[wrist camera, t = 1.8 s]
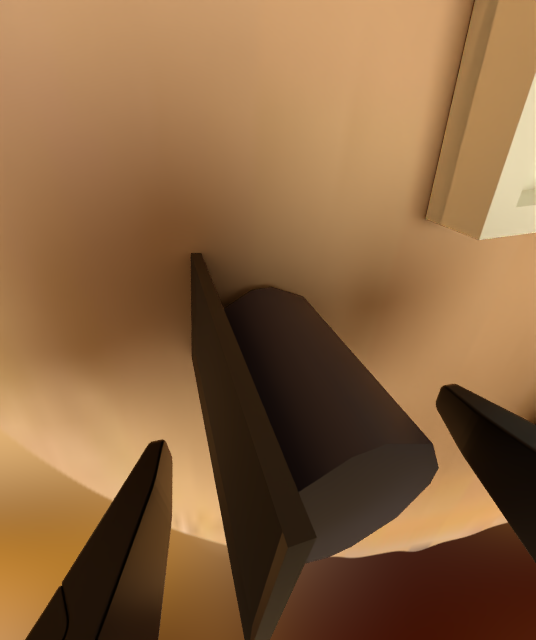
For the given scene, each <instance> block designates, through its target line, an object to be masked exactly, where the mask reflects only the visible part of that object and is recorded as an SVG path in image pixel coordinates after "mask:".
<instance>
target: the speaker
mask: <svg viewBox="0 0 536 640" xmlns="http://www.w3.org/2000/svg"><path fill="white" fill-rule="evenodd" d="M191 321H192V361H193V366H194V371H195V377H196V382H197V387H198V393H199V398H200V403H201V409H202V414H203V419H204V425H205V430H206V435H207V441H208V446H209V451H210V457H211V462H212V468H213V473H214V478H215V484H216V489H217V494H218V500H219V505H220V510H221V516H222V521H223V526H224V532H225V537H226V542H227V548H228V553H229V558H230V563H231V569H232V575H233V579H234V585H235V591H236V596H237V601H238V606H239V611H240V617H241V623H242V628H243V633H244V639H245V640H270V638H271V636H272V634H273V632H274V630H275V627H276V625H277V623H278V621H279V619H280V617H281V614H282V612H283V610H284V608H285V606H286V604H287V601H288V599H289V597H290V595H291V593H292V591H293V588H294V586H295V584H296V582H297V580H298V578H299V575H300V573H301V571H302V569H303V567H304V564H305V563H309V562H313V561H317V560H321V559H325V558H328V557H330V556H332V555H335V554H337V553H339V552H341V551H343V550H345V549H347V548H350V547H352V546H353V545H355V544H356V543H358V542H359V541H361V540H362V539H364V538H366V537H367V536H369V535H370V534H372V533H373V532H375V531H376V530H378V529H379V528H381V527H383V526H384V525H386V524H387V523H389V522H390V521H392V520H393V519H395V518H396V517H397V516H398V515H399V514H400V513H401V512H402V511H403V510H404V509H405V508H406V507H407V506H408V505H409V504H410V503H411V502H412V501H413V500H414V499H415V498H416V497H417V496H418V495H419V494H420V493H421V492H422V491H423V490H424V489H425V488H426V487H427V486H428V485H429V484H430V483H431V481H432V479H433V477H434V475H435V473H436V472H437V470H438V468H439V467H438V463H437V459H436V455H435V451H434V447H433V444H432V442H431V441H430V440H429V439H428V438H427V437H426V436H425V434H424V433H423V432H422V431H421V430H420V429H419V428H418V427H417V425H416V424H415V423H414V422H413V421H412V420H411V419H410V417H409V416H408V415H407V414H406V413H405V412H404V411H403V409H402V408H401V407H400V406H399V405H398V404H397V403H396V402H395V400H394V399H393V398H392V397H391V396H390V395H389V394H388V392H387V391H386V390H385V389H384V388H383V387H382V386H381V385H380V383H379V382H378V381H377V380H376V379H375V378H374V377H373V375H372V374H371V373H370V372H369V371H368V370H367V369H366V367H365V366H364V365H363V364H362V363H361V362H360V361H359V360H358V358H357V357H356V356H355V355H354V354H353V353H352V352H351V350H350V349H349V348H348V347H347V346H346V345H345V344H344V342H343V341H342V340H341V339H340V338H339V337H338V336H337V335H336V333H335V332H334V331H333V330H332V329H331V328H330V327H329V325H328V324H327V323H326V322H325V321H324V320H323V319H322V318H321V316H320V315H319V314H318V313H317V312H316V311H315V310H314V308H313V307H312V306H311V305H310V304H309V303H308V302H307V300H306V299H305V298H304V297H302V296H299V295H296V294H293V293H289V292H286V291H283V290H279V289H276V288H273V287H268V288H263V289H257V290H251V291H250V292H248V293H247V294H245V295H244V296H242V297H241V298H239V299H238V300H236V301H235V302H233V303H232V304H230V305H229V306H227V307H226V308H223V306H222V303H221V301H220V299H219V296H218V294H217V291H216V289H215V286H214V284H213V281H212V279H211V277H210V274H209V272H208V269H207V267H206V264H205V262H204V259H203V257H202V254H199V253H191Z"/></svg>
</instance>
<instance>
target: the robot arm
mask: <svg viewBox="0 0 536 640" xmlns="http://www.w3.org/2000/svg"><path fill="white" fill-rule="evenodd" d="M436 407H437V410H438V412H439V414H440V415H441V417H442V419H443V421H444V423H445V425H446V426H447V428H448V430H449V432H450V434H451V435H452V437H453V439H454V441H455V443H456V445H457V446H458V448H459V450H460V451H461V453H462V455H463V456H464V458H465V459H466V461H467V462H468V464H469V465H470V467H471V468H472V470H473V471H474V473H475V474H476V475H477V477H478V478H479V480H480V481H481V483H482V484H483V486H484V487H485V489H486V490H487V492H488V493H489V495H490V496H491V498H492V499H493V501H494V502H495V504H496V505H497V506H498V508H499V509H500V511H501V512H502V514H503V515H504V517H505V518H506V520H507V521H508V523H509V524H510V526H511V527H512V528H513V530H514V532H515V533H516V535H517V536H518V537H519V539H520V540H521V542H522V543H523V545H524V546H525V547H526V549H527V551H528V552H529V554H530V555H531V556H532V558H533V560H534V561H535V563H536V425H535V424H533V423H531V422H529V421H527V420H526V419H524V418H522V417H520V416H518V415H516V414H514V413H512V412H510V411H508V410H506V409H504V408H502V407H500V406H498V405H496V404H494V403H492V402H490V401H488V400H486V399H484V398H483V397H481V396H479V395H477V394H475V393H473V392H471V391H469V390H467V389H465V388H463V387H461V386H459V385H457V384H449V385H444V386H442V387H441V389H440V392H439V395H438V397H437V400H436ZM171 521H172V456H171V453H170V451H169V448H168V446H167V443H166V441H165V440H157V441H152V442H150V443H149V444H148V446H147V447H146V449H145V451H144V452H143V454H142V455H141V457H140V459H139V460H138V462H137V463H136V465H135V467H134V468H133V470H132V471H131V473H130V475H129V476H128V478H127V479H126V481H125V482H124V484H123V486H122V487H121V489H120V490H119V492H118V494H117V495H116V497H115V498H114V500H113V502H112V503H111V505H110V507H109V508H108V510H107V511H106V513H105V514H104V516H103V518H102V519H101V521H100V522H99V524H98V526H97V527H96V529H95V530H94V532H93V534H92V535H91V537H90V538H89V540H88V542H87V543H86V545H85V546H84V548H83V550H82V551H81V553H80V554H79V556H78V557H77V559H76V561H75V562H74V564H73V565H72V567H71V569H70V570H69V572H68V574H67V575H66V577H65V578H64V580H63V581H62V586H59V588H58V589H57V591H56V592H55V594H54V596H53V597H52V599H51V600H50V602H49V603H48V605H47V607H46V608H45V610H44V611H43V613H42V614H41V616H40V618H39V619H38V621H37V622H36V624H35V625H34V627H33V628H32V630H31V631H30V633H29V635H28V636H27V638H26V639H25V640H158V636H159V627H160V619H161V609H162V601H163V592H164V583H165V575H166V566H167V557H168V548H169V539H170V531H171Z"/></svg>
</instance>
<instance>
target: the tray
mask: <svg viewBox="0 0 536 640" xmlns="http://www.w3.org/2000/svg"><path fill="white" fill-rule="evenodd" d="M426 219H427V220H429V221H432V222H434V223H437V224H439V225H442V226H444V227H447V228H450V229H452V230H455V231H457V232H460V233H462V234H465V235H467V236H470V237H472V238H475V239H477V240H484V239H491V238H499V237H506V236H514V235H521V234H529V233H536V0H475V3H474V7H473V12H472V16H471V20H470V25H469V29H468V34H467V38H466V42H465V47H464V51H463V56H462V60H461V64H460V69H459V73H458V78H457V82H456V86H455V91H454V95H453V100H452V104H451V109H450V113H449V117H448V122H447V126H446V131H445V135H444V139H443V144H442V148H441V153H440V157H439V161H438V166H437V170H436V175H435V179H434V183H433V188H432V192H431V197H430V201H429V206H428V210H427V214H426Z"/></svg>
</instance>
